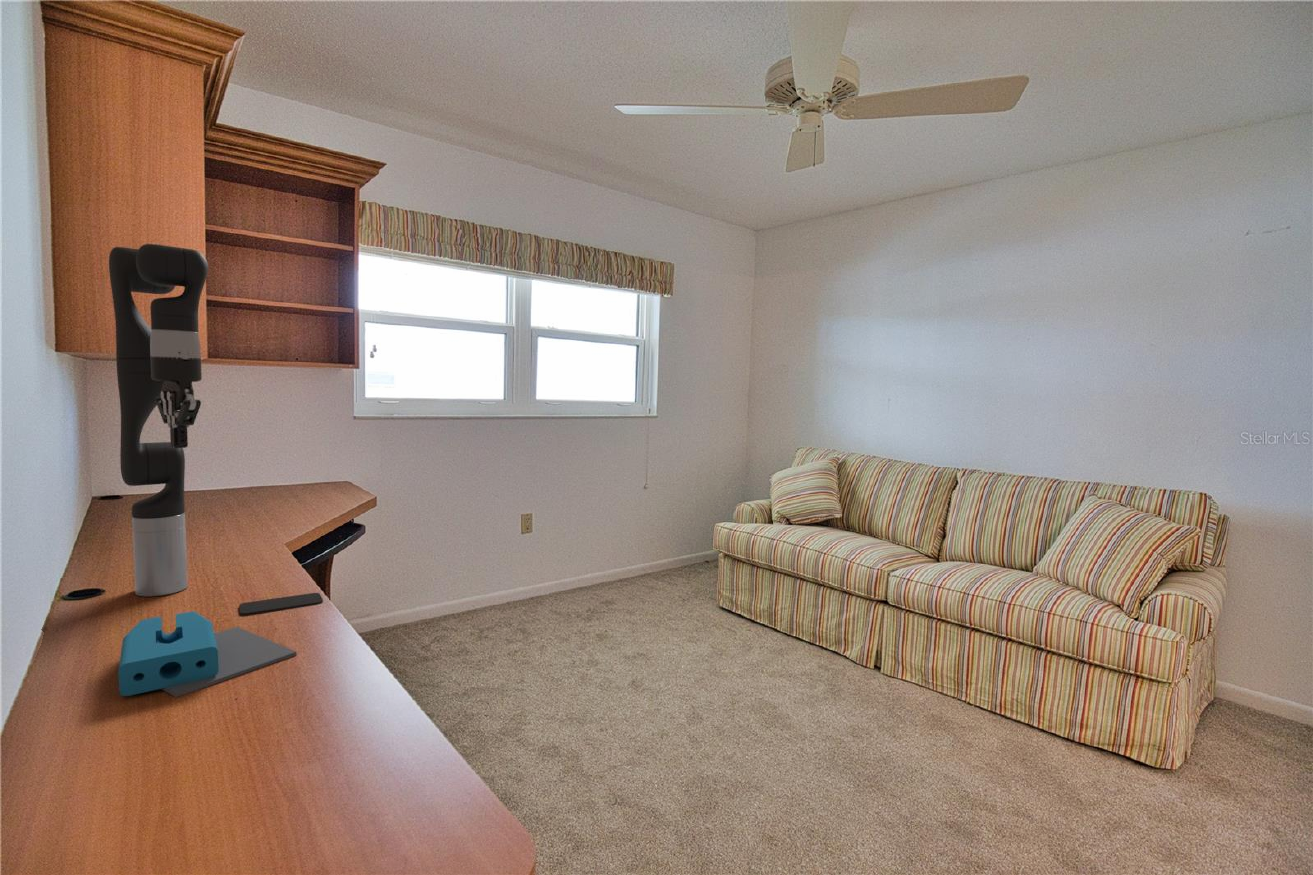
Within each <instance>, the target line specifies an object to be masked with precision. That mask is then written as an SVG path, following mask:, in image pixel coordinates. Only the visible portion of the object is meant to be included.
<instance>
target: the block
mask: <svg viewBox="0 0 1313 875" xmlns="http://www.w3.org/2000/svg"><path fill="white" fill-rule="evenodd" d="M162 626H163V625H162V616H155V617H150V618H146V619H145V618H144V619H141V620H139V622H138V623H137V624H136V625H135V626H134V627H133V628H132V629H131V630H130V631H129V632H128V633H127V634H125V636H124V637H123V639H122V645H121V649H120V650H121V651H120V658H119V664H118V687H119V690H118V691H119V694H120V695H121V696H124V697H129V696H133V695H138V694H142V693H143V694H144V693H148V692H152V691H156V690H162V688H166V687H171V686H175V685H180V684H184V683H189V682H193V681H198V680H202V679H207V678H211V677H214V676H215V675H217V673H218V671H219V667H218V649H217V645H216V640H215V635H214V633H215V631H214V626H213V623H212V622H211V621H210V620H209V619H207V618H206V617H204V616H203V615H201V614H199V613H198V612H197V611H186V612H182V613H181V612H180V613H176V614H175V630H174V631H172V632H170V633H166V632H164V631H163V627H162Z"/></svg>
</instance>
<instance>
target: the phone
mask: <svg viewBox="0 0 1313 875" xmlns="http://www.w3.org/2000/svg"><path fill="white" fill-rule="evenodd" d="M323 602H324V599H323V598H322V596H321V593H319V592H309V593H304V594H298V595H297V594H296V595H290V596H282V597H276V598H270V599H262V600H255V601H247V602H242V603H239V605H238V608H239V616H242V617H246V616H254V615H259V614H265V613H266V614H267V613H272V612H278V611H285V610H291V609H297V608H304V607H309V606H315V605H320V604H321V605H322V604H323Z"/></svg>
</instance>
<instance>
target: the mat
mask: <svg viewBox="0 0 1313 875" xmlns="http://www.w3.org/2000/svg"><path fill="white" fill-rule="evenodd" d="M214 635H215V640H216V645H217V649H218V667H219V671H218V673H217V675H215V676H214V677H211V678H207V679H202V680H198V681H193V682H189V683H184V684H180V685H175V686H171V687H166V688H162V689H161V690H162V691H164V692H166V693H167V694H169V695H171V696H173V697H174V698H178V697H182V696H186V695H188V694H190V693H193V692H196V691H199V690H202V689H204V688H208V687H211V686H212V685H215V684H218V683H219V684H220V683H221V682H224V681H226V680H227V681H228V680H231V679H233V678H236V677H238V676H240V675H244V674H247V673H250V672H252V671H255V670H257V669H260V668H264V667H266V666H269V665H273V664H275V663H278V662H280V661H284V660H287V659H289V658H292V657H294V656H297V655H298V654H297V650H294V649H291V648H289V647H286V646H284V645H282V644H279V643H277V642H275V641H272V640H270V639H268V638H265V637H263V636H260V635H259V634H256V633H254V632H251V631H248V629H247V630H246V629H244V628H242V627H239V626H235V627H231V628H228V629H224V630H221V631H218V632H214Z"/></svg>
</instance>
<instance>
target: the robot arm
mask: <svg viewBox="0 0 1313 875" xmlns="http://www.w3.org/2000/svg"><path fill="white" fill-rule="evenodd" d="M108 270H109V280H110V287H111V288H110V289H111V295H112V296H111V297H112V303H113V310H114V321H115V340H116V341H115V345H116V346H115V348H116V349H115V350H116V351H115V352H116V353H115V354H116V356H115V358H116V360H115V361H116V373H117V386H118V397H119V407H120V408H119V409H120V450H119V451H120V460H119V461H120V472H121V478H122V480H123V483H124V484H125V485H127V486H130V487H137V486H152V485H153V486H155V485H163V484H165V485H164V487H163V488H162V489H161V490H160V491H158V492H157V493H155V494H153V495H151V496H149V497H147V498H143V499H141V500H138V501H136V502H134V503H133V504H132V505H131V522H132V523H131V524H132V547H133V569H134V593H135V595H136V596H140V597H158V596H165V595H166V596H167V595H171V594H174V593H178V592H181V591H183V590H185V589H187V588H188V582H189V581H188V559H187V558H188V556H187V552H188V551H187V535H186V534H187V532H186V531H187V530H186V528H187V527H186V508H185V507H186V506H185V473H186V472H185V470H186V468H185V467H186V461H185V460H186V458H185V457H186V456H185V451H184V449H186V448H188V444H189V443H188V428H190V426H193V425H194V424H195V421H196V419H197V416H198V413H199V411H200V408H201V405H202V402H201V399H195V391H194V390H195V389H194V387H193V382H194V383H195V382H200V381H202V380H203V377H202V352H201V350H202V349H201V348H202V346H201V339H200V334H199V307H200V306H199V305H200V302H201V301H200V300H201V297H202V292H203V289H204V286H205V284H206V281H207V278H208V275H209V274H208V273H209V264H208V260H207V259H206V257H205V256H204V255H203V253H202V252H200V251H199V250H195V249H193V248H192V249H191V248H185V247H177V246H171V245H163V244H156V243H155V244H154V243H145V244H142V245H141V246H140V247H139V248H131V247H122V246H115V247H113V248H112V249H111V250H110V253H109V256H108ZM176 287H183V288H184V290H183V292H182V293H181V294H180V295H177V296H170V297H169V296H168V297H159V298H155V299H152V300H151V301H150V302H151V303H150V325H151V326H150V325H149V324H148V323H147V321H146V320H145V319H144V317H143V316H142V315H141V313H140V311H139V310H138V308H137V306H136V303H135V301H134V298H133V294H132V292H133V293H139V294H141V293H143V294H150V295H151V294H152V295H167V294H170V293H172V292H173V291H174V290H175V288H176ZM156 407H157V408H158V411H159V414H160V416H161V419H162V422H163V424H165V425H167V427H168V428H169V433H170V435H169V436H170V437H169V439H170V441H163V442H162V441H161V442H158V441H157V442H144V443H143V442H141V434H142V431H143V428H144V426H145V423H146V422H147V421H148V419H149V417H150V416H151V413H152V412H153V411H154V410H155V408H156Z"/></svg>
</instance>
